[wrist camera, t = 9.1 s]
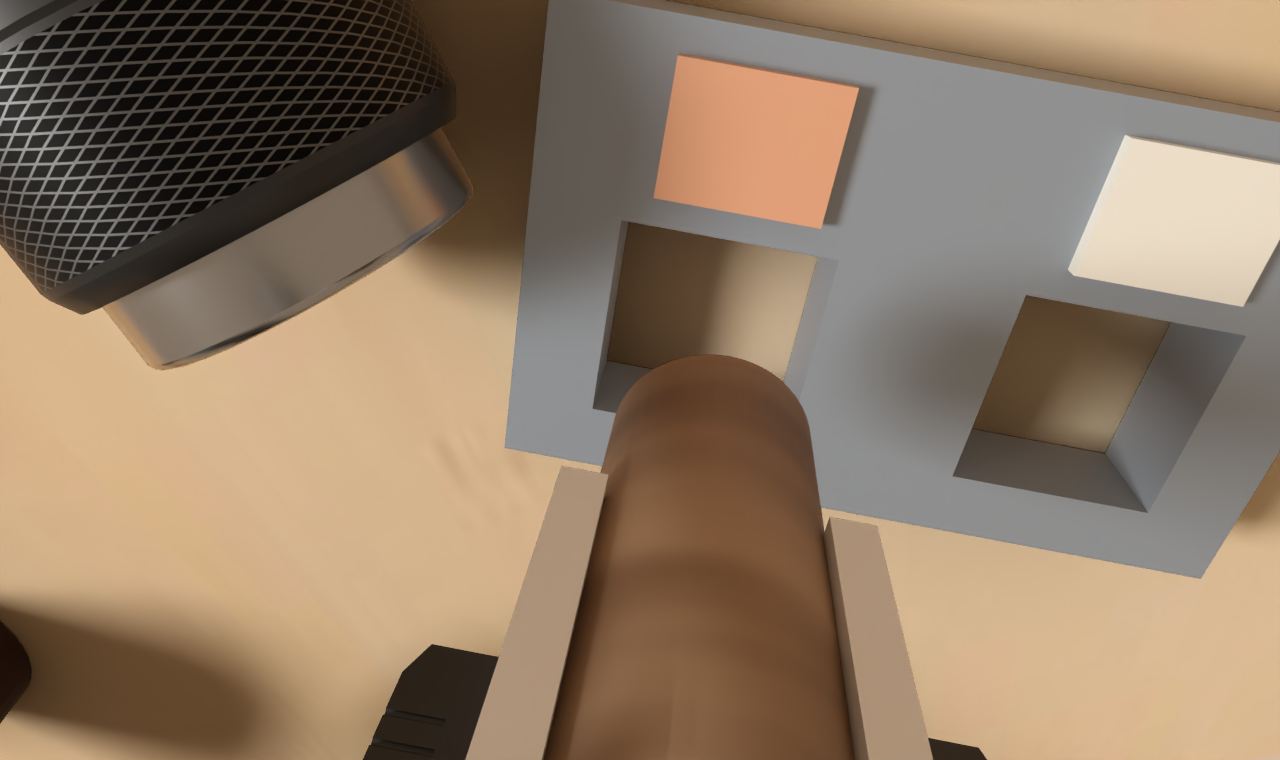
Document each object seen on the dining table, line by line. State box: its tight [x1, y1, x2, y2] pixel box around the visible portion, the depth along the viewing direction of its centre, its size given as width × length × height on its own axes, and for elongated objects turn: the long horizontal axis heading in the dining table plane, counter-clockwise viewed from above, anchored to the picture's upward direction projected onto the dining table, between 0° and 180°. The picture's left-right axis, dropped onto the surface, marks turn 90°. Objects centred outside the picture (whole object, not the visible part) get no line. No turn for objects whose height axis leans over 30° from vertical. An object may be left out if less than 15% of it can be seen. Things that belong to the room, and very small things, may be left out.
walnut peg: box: [544, 355, 855, 760], centre depth 12 cm, size 4×4×12 cm
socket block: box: [505, 0, 1280, 579], centre depth 22 cm, size 12×20×3 cm, turn 81°
